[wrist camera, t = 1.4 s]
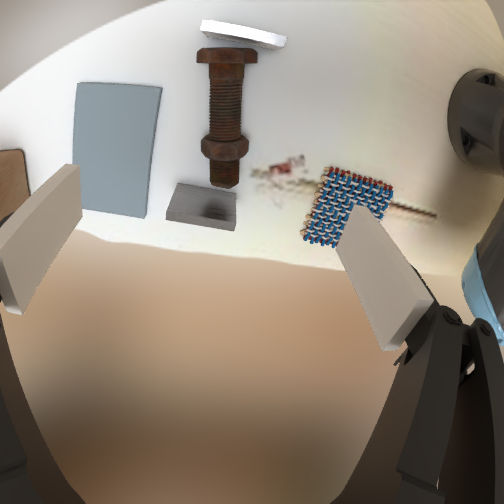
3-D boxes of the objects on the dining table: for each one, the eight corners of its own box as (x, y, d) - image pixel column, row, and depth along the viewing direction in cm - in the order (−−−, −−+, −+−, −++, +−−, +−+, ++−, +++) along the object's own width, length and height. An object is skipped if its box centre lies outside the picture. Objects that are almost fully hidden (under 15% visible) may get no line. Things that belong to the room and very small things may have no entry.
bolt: (219, 171, 36) (221, 48, 27) (256, 179, 34) (264, 49, 25) (190, 189, 32) (187, 48, 23) (230, 200, 30) (235, 47, 21)
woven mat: (393, 183, 36) (400, 190, 35) (362, 247, 42) (367, 256, 41) (324, 161, 34) (328, 167, 33) (296, 234, 40) (299, 242, 39)
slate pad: (162, 87, 28) (160, 88, 27) (146, 214, 37) (144, 218, 36) (81, 82, 26) (77, 83, 25) (76, 203, 35) (73, 207, 34)
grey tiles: (275, 41, 26) (286, 36, 20) (233, 200, 36) (234, 231, 31) (209, 28, 24) (202, 19, 19) (176, 190, 35) (165, 219, 29)
